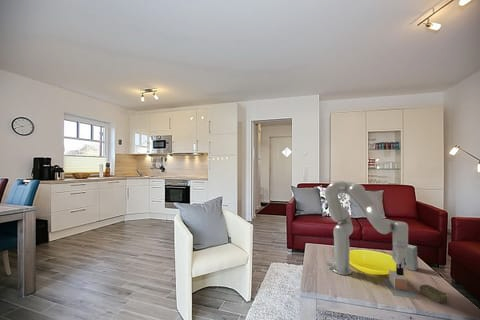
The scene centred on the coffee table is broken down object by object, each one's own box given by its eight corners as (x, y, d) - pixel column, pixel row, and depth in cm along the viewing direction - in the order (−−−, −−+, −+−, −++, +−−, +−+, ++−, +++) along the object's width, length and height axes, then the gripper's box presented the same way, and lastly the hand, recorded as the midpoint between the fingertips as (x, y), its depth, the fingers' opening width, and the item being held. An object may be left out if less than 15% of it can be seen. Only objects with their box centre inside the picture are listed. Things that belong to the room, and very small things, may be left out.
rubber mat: (393, 295, 129) (393, 295, 129) (383, 278, 148) (383, 278, 148) (419, 300, 125) (419, 299, 125) (405, 282, 144) (405, 281, 144)
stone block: (440, 304, 121) (440, 295, 121) (418, 293, 132) (418, 284, 132) (448, 303, 123) (448, 293, 123) (426, 291, 134) (426, 283, 134)
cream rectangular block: (395, 278, 135) (389, 270, 146) (394, 288, 135) (389, 279, 146) (407, 280, 134) (400, 271, 144) (407, 290, 134) (400, 281, 144)
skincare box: (418, 269, 162) (418, 246, 163) (414, 271, 158) (414, 248, 159) (404, 264, 169) (404, 242, 170) (399, 267, 165) (400, 244, 166)
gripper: (388, 238, 145) (388, 268, 145) (397, 246, 131) (396, 279, 130) (402, 240, 143) (402, 270, 142) (412, 248, 128) (412, 281, 128)
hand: (399, 274), depth 136 cm, fingers closed
